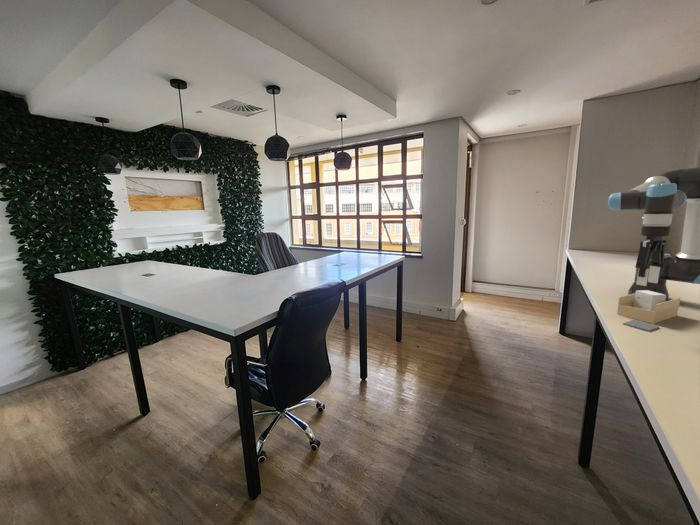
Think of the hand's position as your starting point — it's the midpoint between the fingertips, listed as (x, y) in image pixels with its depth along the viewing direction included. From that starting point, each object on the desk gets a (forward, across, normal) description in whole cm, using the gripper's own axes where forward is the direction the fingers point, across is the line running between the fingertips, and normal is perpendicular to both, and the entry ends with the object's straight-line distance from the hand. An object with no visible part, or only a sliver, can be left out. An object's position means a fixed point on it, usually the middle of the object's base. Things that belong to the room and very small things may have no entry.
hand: (646, 283), depth 114 cm
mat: (+18, 0, 0) cm, 18 cm away
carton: (+17, -18, -5) cm, 26 cm away
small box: (+18, -18, -5) cm, 26 cm away
